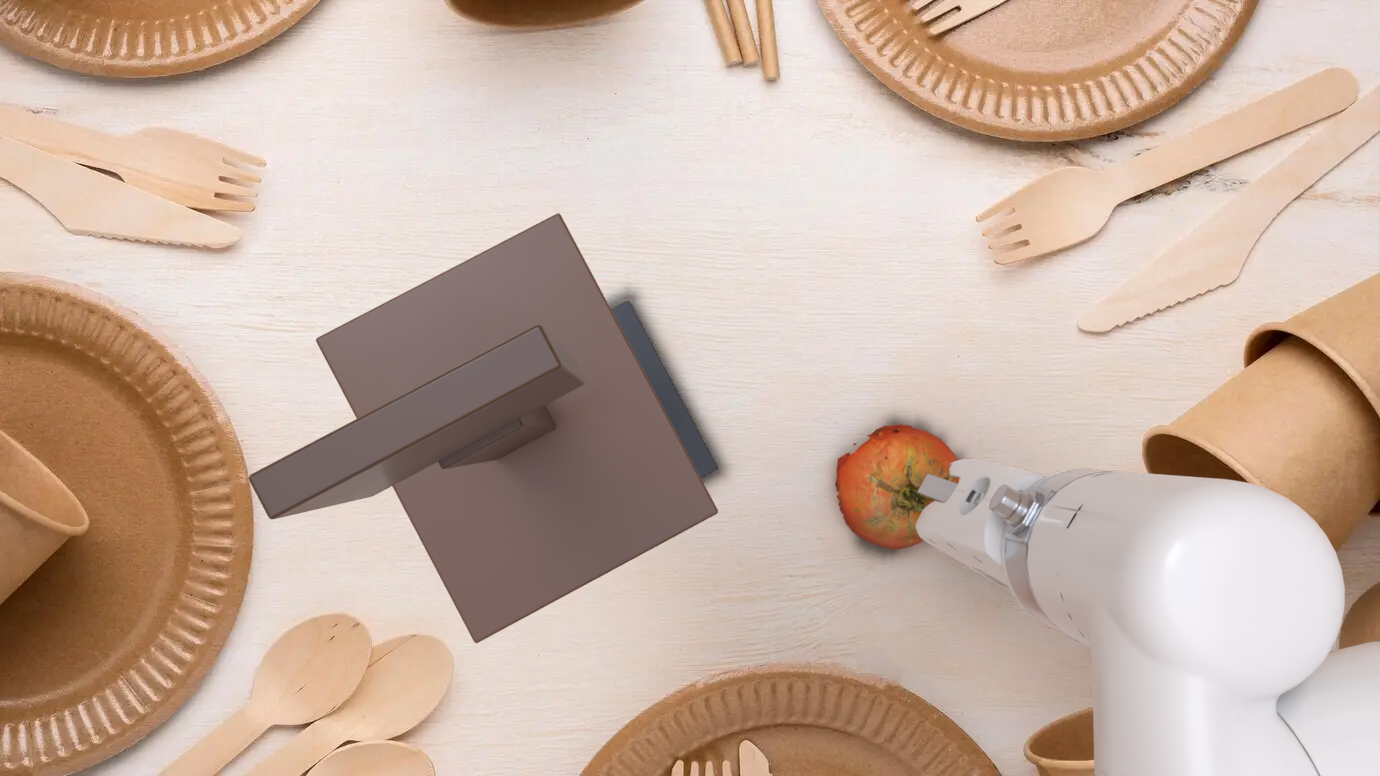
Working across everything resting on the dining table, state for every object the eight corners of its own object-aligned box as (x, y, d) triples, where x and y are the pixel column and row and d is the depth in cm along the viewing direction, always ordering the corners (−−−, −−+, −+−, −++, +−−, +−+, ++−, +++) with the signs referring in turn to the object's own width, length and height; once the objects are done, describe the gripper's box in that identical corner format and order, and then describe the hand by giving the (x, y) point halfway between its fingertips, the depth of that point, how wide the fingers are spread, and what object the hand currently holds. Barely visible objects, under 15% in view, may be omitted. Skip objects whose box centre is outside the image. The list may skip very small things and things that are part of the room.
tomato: (816, 547, 65) (865, 478, 60) (813, 461, 70) (858, 390, 65) (934, 574, 67) (992, 509, 62) (923, 488, 71) (975, 421, 66)
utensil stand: (717, 468, 67) (915, 575, 17) (549, 558, 66) (237, 947, 16) (628, 301, 67) (564, -79, 17) (460, 390, 66) (-117, 262, 16)
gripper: (907, 544, 46) (834, 514, 64) (1201, 715, 46) (1045, 636, 64) (990, 396, 46) (894, 407, 65) (1281, 565, 47) (1104, 529, 65)
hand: (970, 521), depth 65 cm, fingers closed
